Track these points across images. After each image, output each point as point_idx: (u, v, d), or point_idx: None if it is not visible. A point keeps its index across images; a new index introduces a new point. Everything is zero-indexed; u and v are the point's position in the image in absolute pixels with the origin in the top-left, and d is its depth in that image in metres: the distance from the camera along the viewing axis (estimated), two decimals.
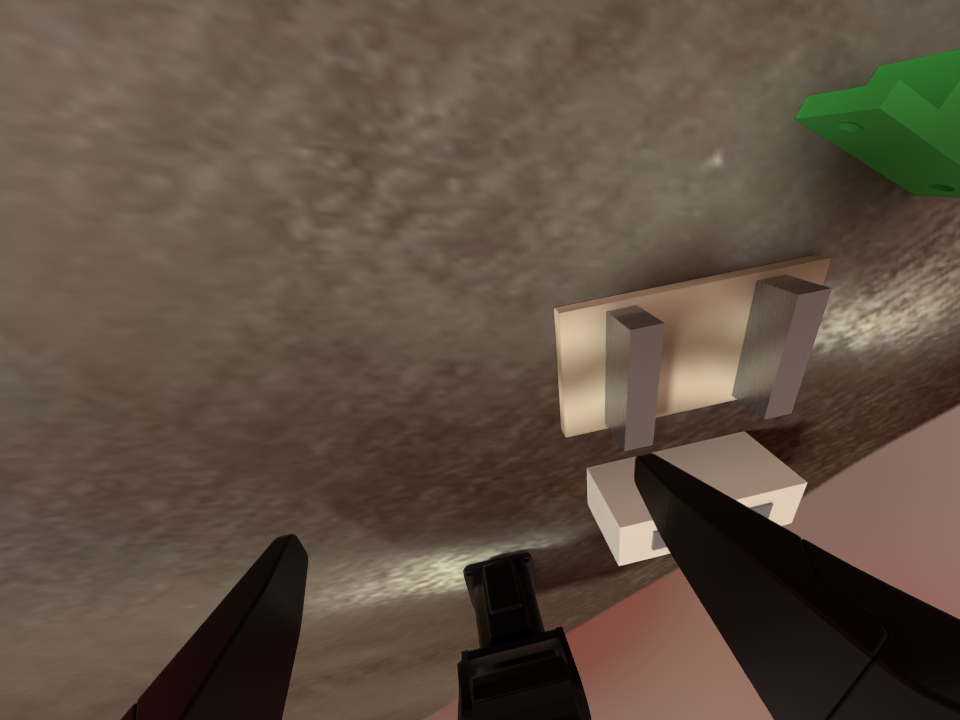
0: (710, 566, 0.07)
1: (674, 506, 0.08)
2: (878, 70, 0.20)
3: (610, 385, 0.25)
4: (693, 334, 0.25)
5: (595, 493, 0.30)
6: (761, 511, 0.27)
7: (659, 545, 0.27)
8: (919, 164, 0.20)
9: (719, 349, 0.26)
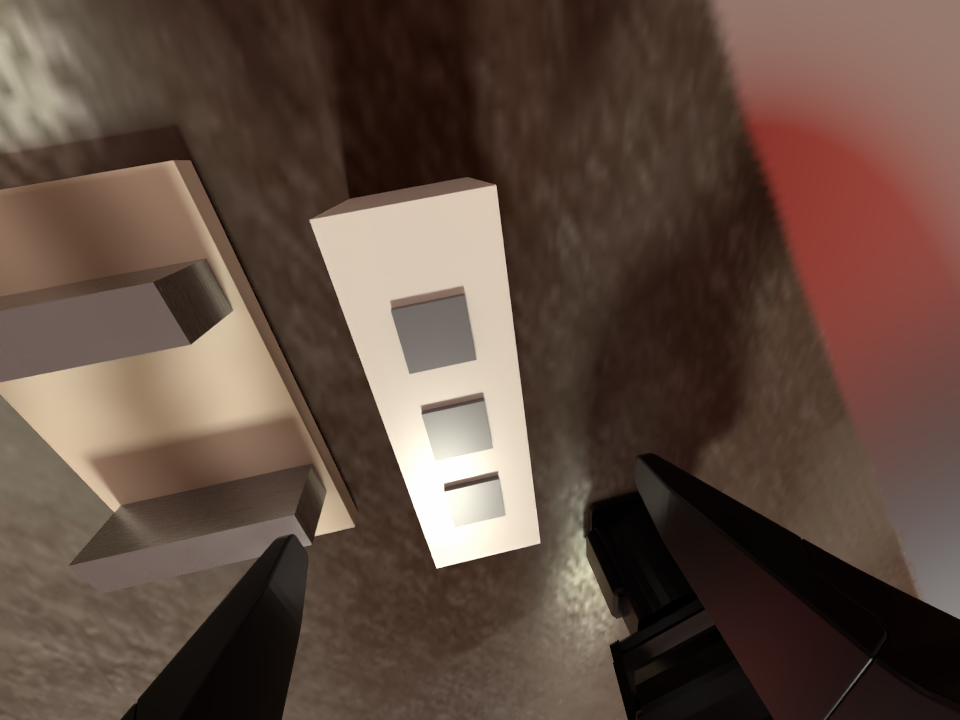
0: (710, 566, 0.07)
1: (674, 506, 0.08)
2: None
3: None
4: (132, 423, 0.16)
5: None
6: (416, 333, 0.10)
7: (492, 509, 0.14)
8: None
9: (142, 371, 0.15)
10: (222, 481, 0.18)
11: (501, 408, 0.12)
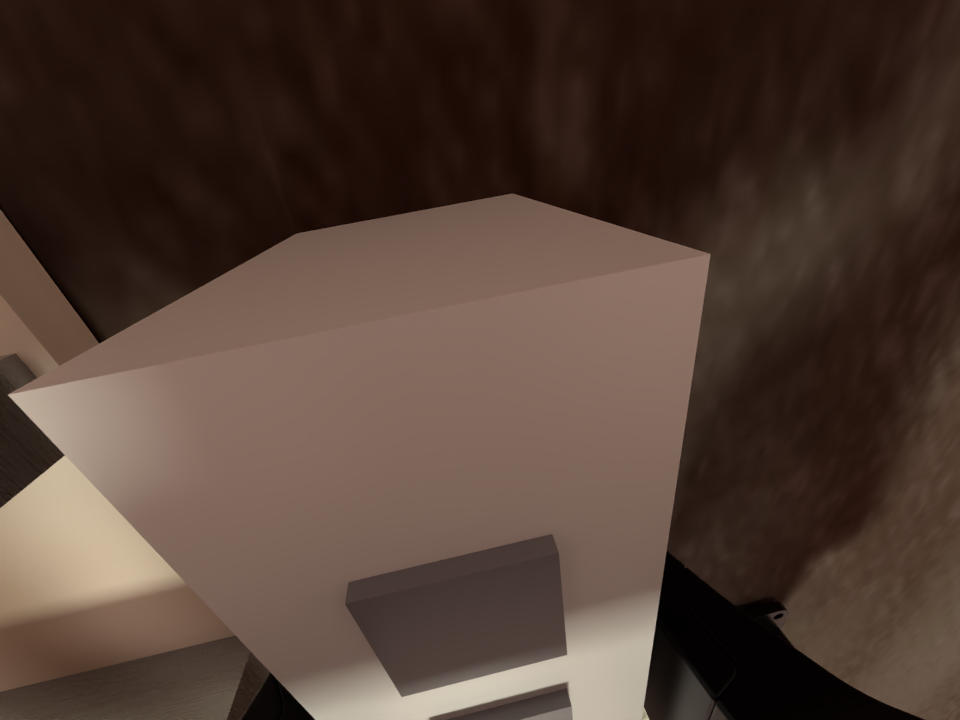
0: None
1: None
2: None
3: None
4: None
5: None
6: (419, 633, 0.04)
7: None
8: None
9: None
10: (117, 661, 0.11)
11: (600, 696, 0.06)
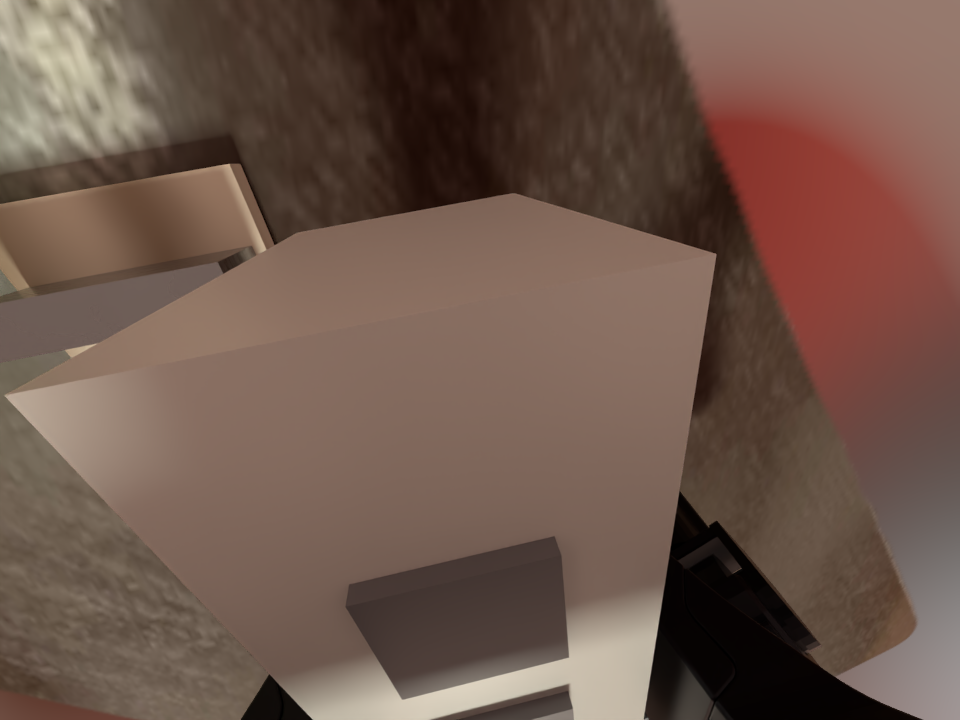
0: None
1: None
2: None
3: None
4: None
5: None
6: (420, 636, 0.04)
7: None
8: None
9: None
10: None
11: (601, 698, 0.06)
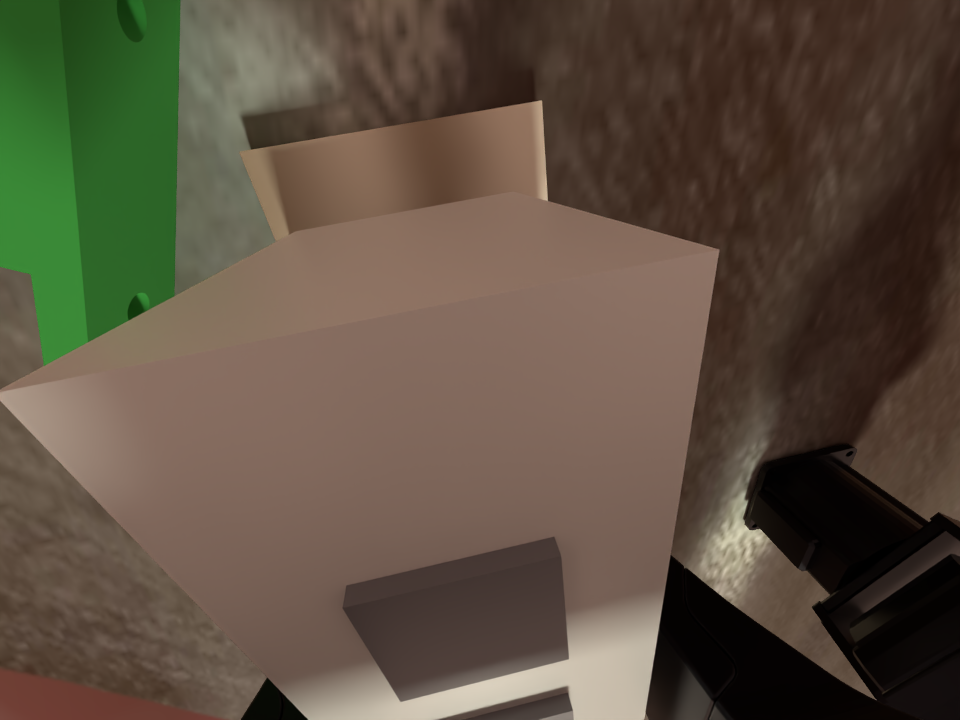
0: None
1: None
2: None
3: None
4: None
5: None
6: (418, 638, 0.04)
7: None
8: (119, 156, 0.10)
9: None
10: None
11: (601, 700, 0.06)
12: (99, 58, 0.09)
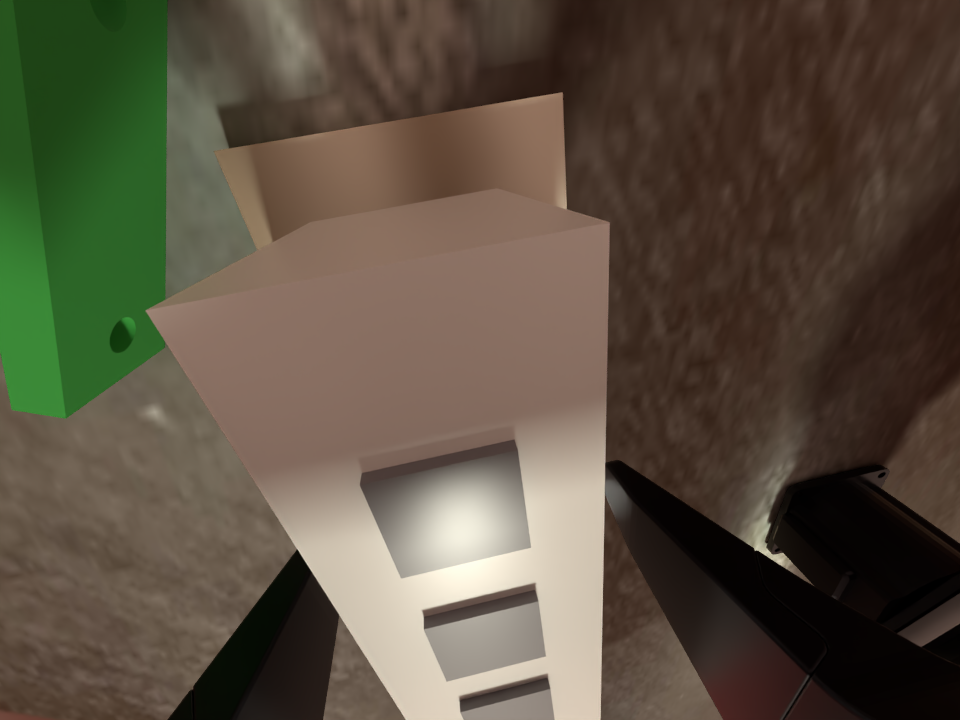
0: (669, 576, 0.07)
1: (636, 515, 0.08)
2: None
3: None
4: None
5: None
6: (414, 517, 0.05)
7: None
8: (96, 165, 0.09)
9: None
10: None
11: (563, 600, 0.07)
12: (66, 49, 0.07)
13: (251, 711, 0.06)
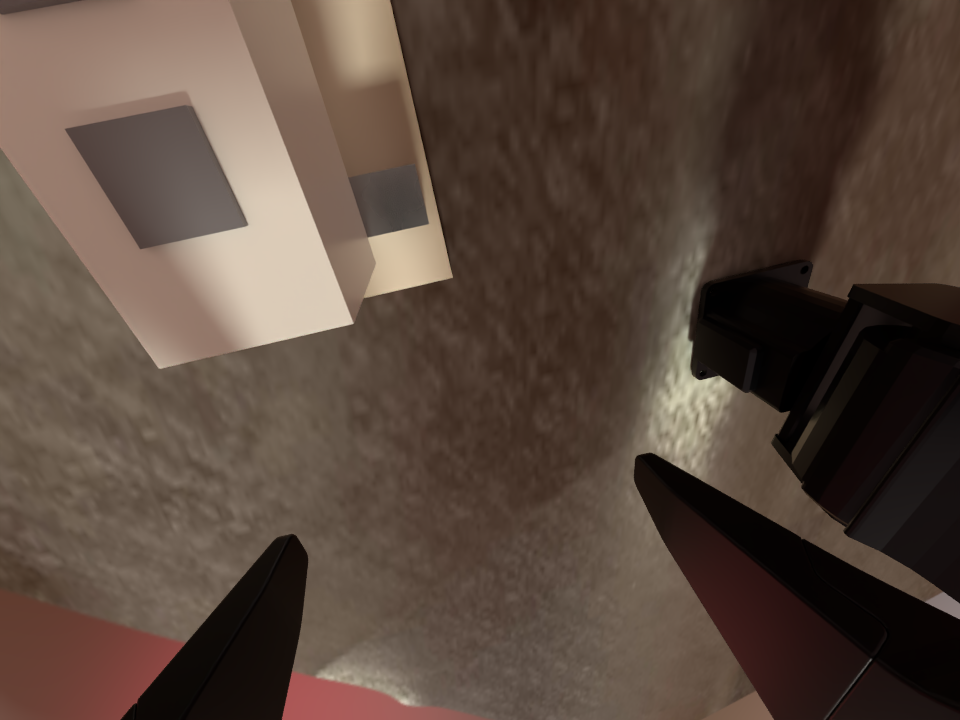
0: (710, 566, 0.07)
1: (674, 506, 0.08)
2: None
3: None
4: None
5: None
6: None
7: (208, 205, 0.07)
8: None
9: None
10: None
11: None
12: None
13: None
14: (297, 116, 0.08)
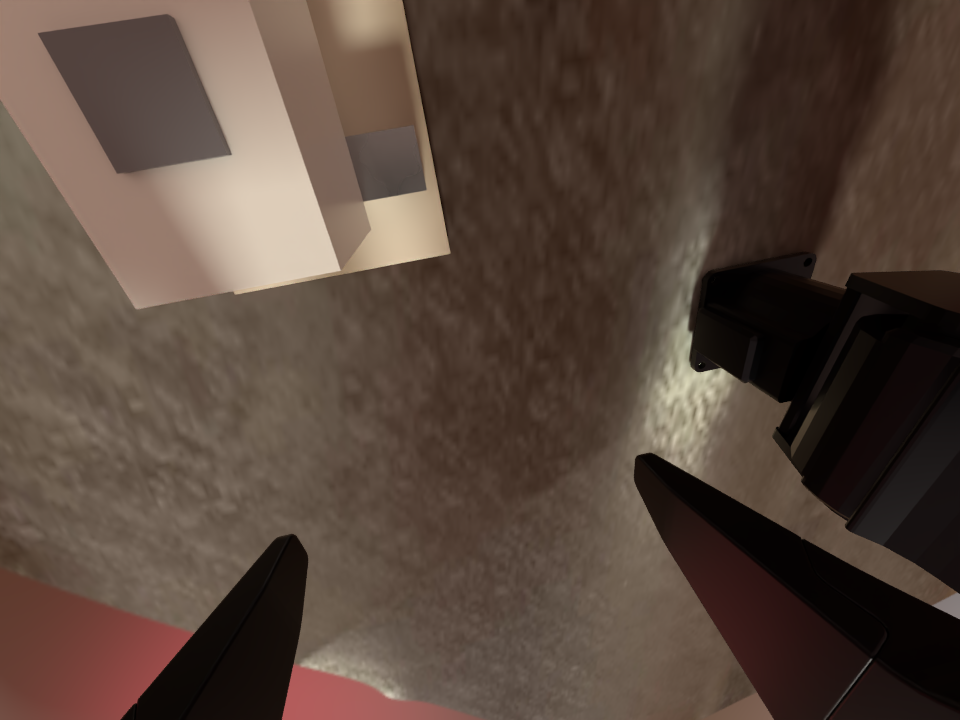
0: (710, 566, 0.07)
1: (674, 506, 0.08)
2: None
3: None
4: None
5: None
6: None
7: (189, 128, 0.07)
8: None
9: None
10: None
11: None
12: None
13: None
14: (289, 50, 0.08)
